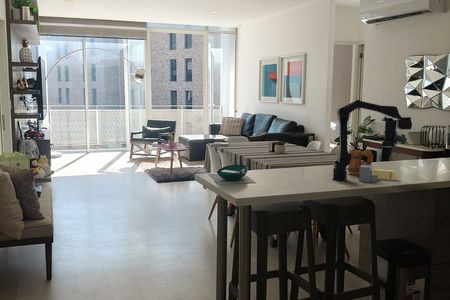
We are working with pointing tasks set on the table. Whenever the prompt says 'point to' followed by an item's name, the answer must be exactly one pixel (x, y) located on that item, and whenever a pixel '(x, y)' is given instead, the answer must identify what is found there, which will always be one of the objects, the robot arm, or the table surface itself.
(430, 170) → the table surface
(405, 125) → the robot arm
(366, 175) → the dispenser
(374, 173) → the pale yellow flat block
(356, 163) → the mug
